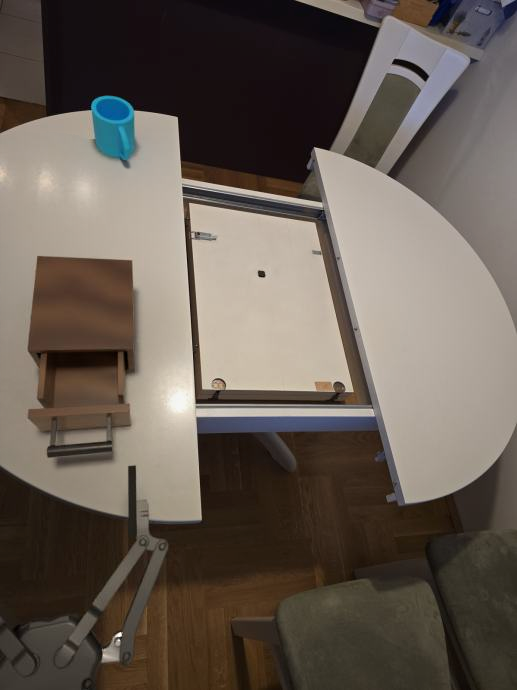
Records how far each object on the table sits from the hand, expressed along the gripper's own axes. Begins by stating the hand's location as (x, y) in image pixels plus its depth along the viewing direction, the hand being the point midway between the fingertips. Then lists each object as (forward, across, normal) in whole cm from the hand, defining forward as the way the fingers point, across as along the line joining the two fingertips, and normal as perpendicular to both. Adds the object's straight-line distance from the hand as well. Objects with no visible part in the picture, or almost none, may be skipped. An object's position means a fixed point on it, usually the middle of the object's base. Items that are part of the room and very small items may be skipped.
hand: (60, 474), depth 39 cm
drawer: (+14, 0, -19) cm, 24 cm away
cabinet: (+26, 0, -20) cm, 33 cm away
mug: (+70, +4, -21) cm, 73 cm away
